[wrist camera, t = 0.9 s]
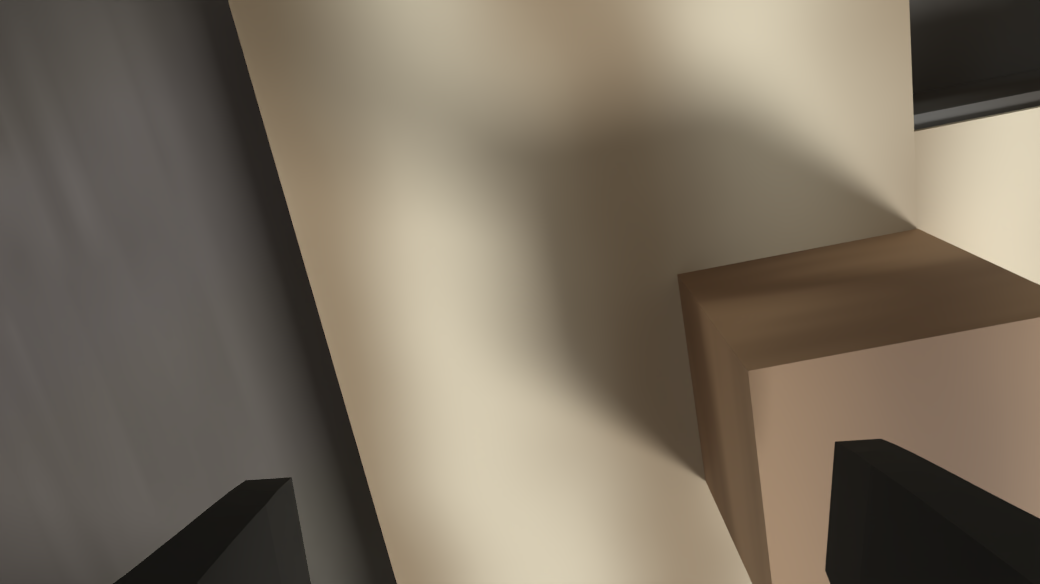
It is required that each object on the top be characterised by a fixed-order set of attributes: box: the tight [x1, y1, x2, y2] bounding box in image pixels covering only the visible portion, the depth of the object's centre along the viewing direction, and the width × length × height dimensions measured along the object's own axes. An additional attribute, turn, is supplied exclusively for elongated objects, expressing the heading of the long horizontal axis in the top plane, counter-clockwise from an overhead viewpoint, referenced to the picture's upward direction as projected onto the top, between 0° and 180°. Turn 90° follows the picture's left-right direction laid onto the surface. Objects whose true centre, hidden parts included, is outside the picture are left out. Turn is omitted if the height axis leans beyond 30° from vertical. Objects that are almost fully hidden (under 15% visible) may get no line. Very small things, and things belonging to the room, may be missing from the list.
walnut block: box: [677, 229, 1040, 584], centre depth 15 cm, size 5×5×5 cm
